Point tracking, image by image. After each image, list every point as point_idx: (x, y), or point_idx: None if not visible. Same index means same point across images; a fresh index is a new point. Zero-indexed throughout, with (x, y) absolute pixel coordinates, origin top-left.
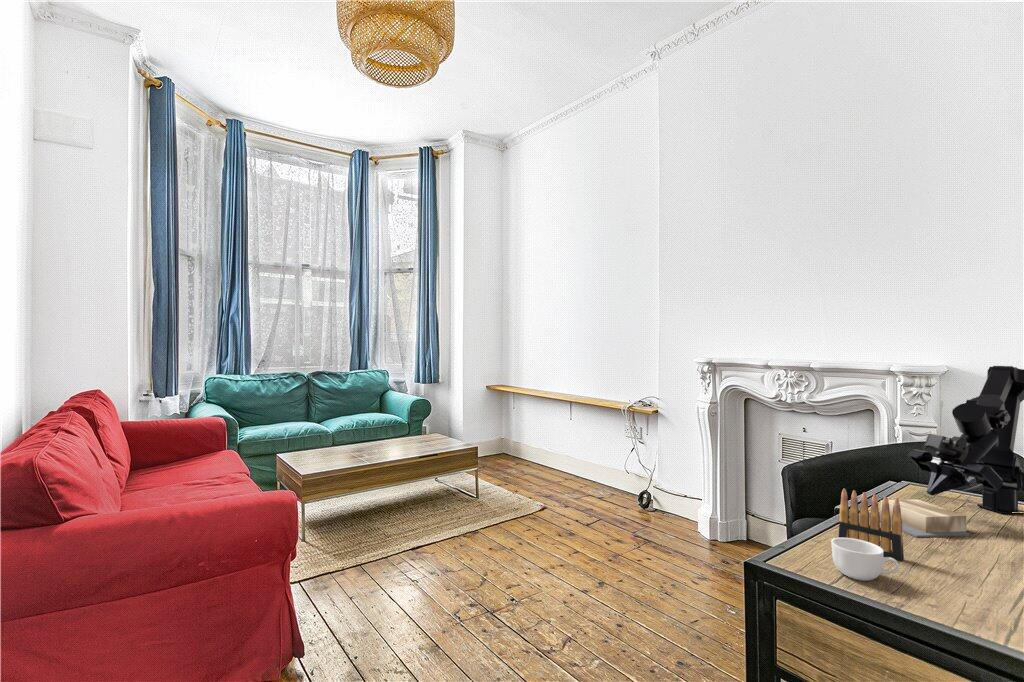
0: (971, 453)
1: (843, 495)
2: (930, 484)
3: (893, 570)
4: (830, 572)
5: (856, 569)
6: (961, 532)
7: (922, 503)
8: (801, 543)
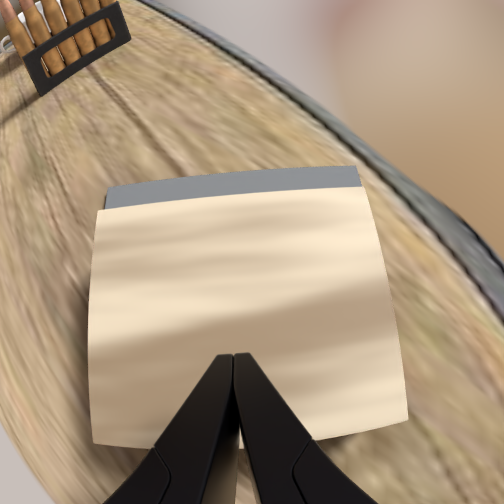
0: None
1: None
2: (255, 399)
3: (7, 50)
4: None
5: None
6: None
7: (326, 392)
8: (148, 7)
